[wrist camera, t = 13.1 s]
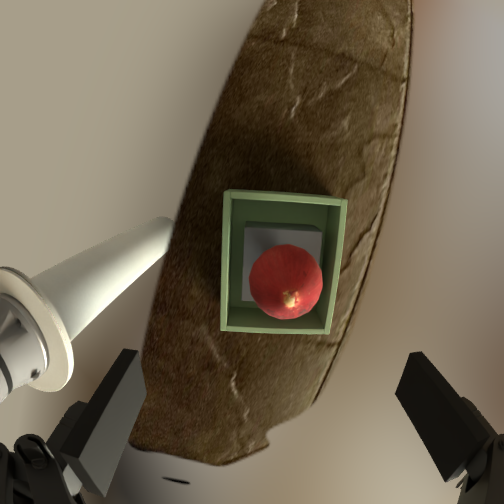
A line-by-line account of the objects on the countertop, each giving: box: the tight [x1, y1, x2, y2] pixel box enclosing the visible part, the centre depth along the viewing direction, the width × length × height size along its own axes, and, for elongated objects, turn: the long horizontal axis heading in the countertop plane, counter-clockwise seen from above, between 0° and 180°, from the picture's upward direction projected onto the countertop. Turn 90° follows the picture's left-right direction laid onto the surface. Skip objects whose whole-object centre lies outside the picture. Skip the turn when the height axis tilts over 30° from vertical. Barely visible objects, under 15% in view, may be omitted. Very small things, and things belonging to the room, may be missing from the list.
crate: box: [220, 189, 347, 334], centre depth 28 cm, size 11×13×5 cm
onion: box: [249, 244, 323, 320], centre depth 23 cm, size 6×6×8 cm
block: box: [241, 221, 323, 301], centre depth 28 cm, size 7×7×4 cm
